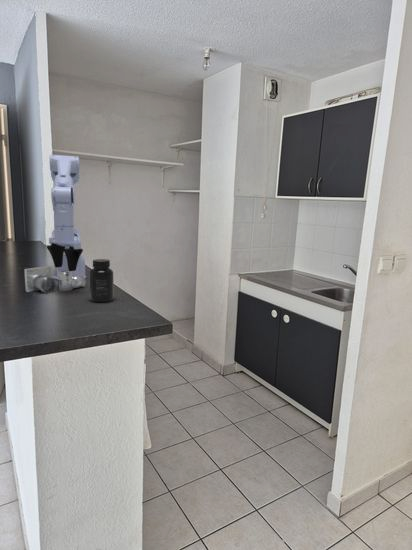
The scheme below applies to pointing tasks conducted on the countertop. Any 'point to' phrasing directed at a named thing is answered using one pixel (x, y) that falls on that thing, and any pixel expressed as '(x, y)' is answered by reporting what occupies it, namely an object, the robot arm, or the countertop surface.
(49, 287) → the duct stub
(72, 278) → the elbow
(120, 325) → the countertop surface
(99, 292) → the supplement bottle
